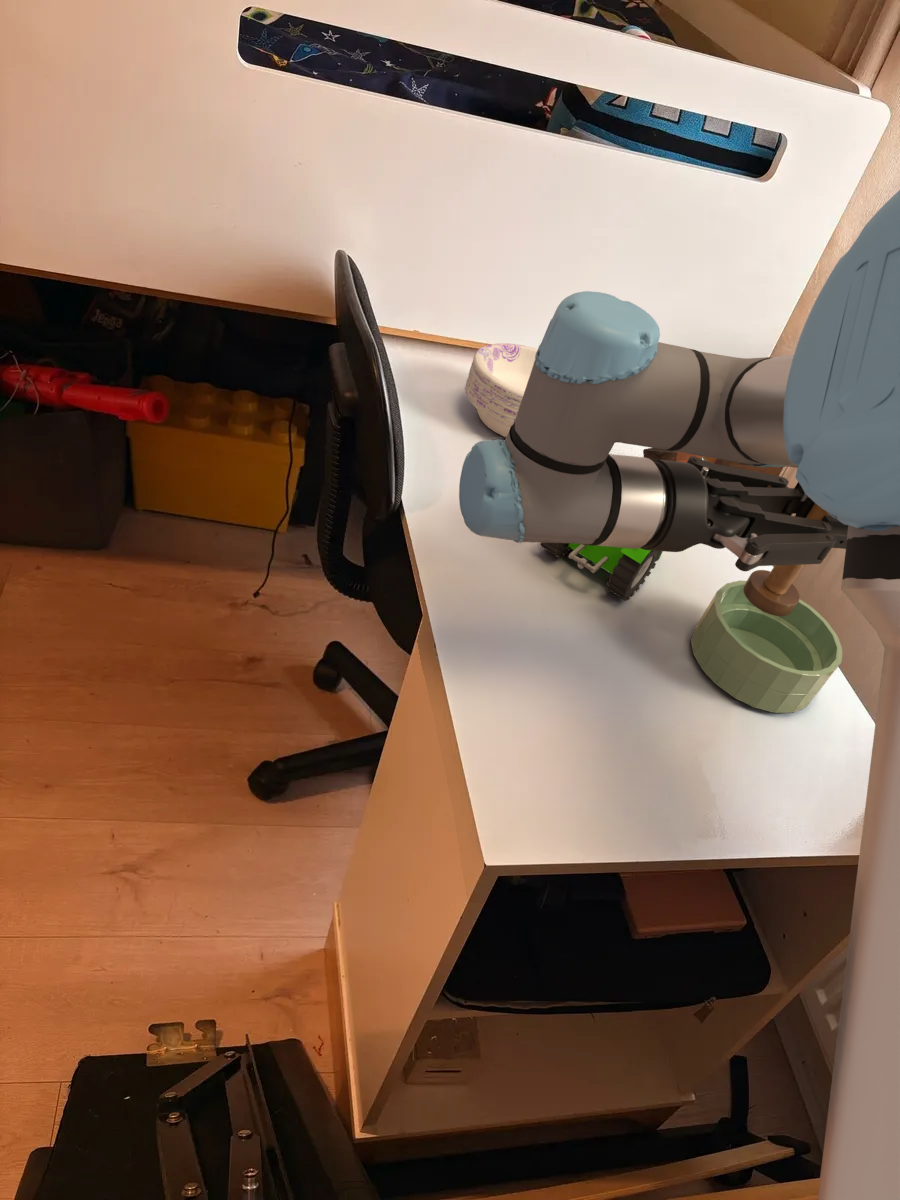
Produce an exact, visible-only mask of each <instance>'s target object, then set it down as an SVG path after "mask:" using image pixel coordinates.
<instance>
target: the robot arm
mask: <svg viewBox="0 0 900 1200" xmlns="http://www.w3.org/2000/svg"><path fill="white" fill-rule="evenodd" d="M810 309H811V310H810V312H809V314H808V316H807V318H806V321H805V322H804V325H803V328H802V330H801V333H800V335H799V337H798V341H797V344H796V347H795V350H794V354H788V355H786V354H785V355H775V356H765V357H751V358H749V357H748V358H744V357H735V356H729V355H723V354H716V353H711V352H706V351H699V350H697V349H693V348H688V347H686V346H685V347H684V346H679V345H676V344H670V343H666V342H660V336H661V331H660V327H659V325H658V322H657V321H656V319H655V318H654V317H653V316H652V315H651V314H650V313H648V312H647V311H646V310H645V309H643V308H642V307H640V306H638V305H637V304H635V303H633V302H631V301H628V300H622V299H620V298H619V297H617V296H616V295H612V294H609V293H605V292H600V291H589V290H588V291H587V290H585V291H579V292H574V293H572V294H570V295H567V296H566V297H565V298H564V299H562V300H561V301H560V303H559V304H558V305H557V307H556V309H555V310H554V313H553V316H552V317H551V319H550V321H549V323H548V326H547V328H546V330H545V333H544V335H543V337H542V340H541V342H540V344H539V345H538V347H537V349H538V350H537V352H536V355H535V361H534V364H533V368H532V371H531V374H530V377H529V380H528V383H527V386H526V389H525V392H524V395H523V398H522V401H521V404H520V407H519V410H518V413H517V416H516V419H515V421H514V424H513V425H512V426H511V427H510V430H509V432H508V435H507V437H505V439H498V438H495V439H491V440H489V439H484V440H479V441H478V442H476V443H474V445H473V446H472V447H471V450H470V451H468V453H467V454H466V455H465V458H464V461H463V464H462V468H461V472H460V478H459V485H458V486H459V487H458V488H459V489H458V500H459V501H458V502H459V507H460V513H461V515H462V518H463V521H464V524H465V526H466V527H467V528H468V529H469V530H470V532H471V533H473V534H475V535H477V536H480V537H486V538H492V539H500V540H507V541H513V542H515V543H518V544H522V543H541V542H543V543H576V544H583V545H591V546H596V545H597V546H609V547H620V548H632V549H633V548H641V549H643V550H652V551H663V552H667V553H681V552H684V551H686V550H688V549H690V548H692V547H695V546H696V545H697V546H698V545H705V546H708V547H710V548H713V549H717V550H723V549H725V548H726V549H727V550H728V551H729V552H731V553H732V554H734V555H735V556H736V557H737V560H736V561H735V563H734V566H735V567H736V568H737V570H739V571H742V572H750V571H751V570H754V569H755V568H758V567H774V566H776V565H804V564H805V565H821V564H822V563H823V561H824V560H825V559H826V557H827V556H828V554H829V553H830V552H831V550H832V549H843V550H845V551H844V552H845V553H844V561H843V570H842V577H841V578H842V579H841V587H840V589H841V592H843V594H844V595H845V596H846V597H847V598H848V599H849V600H850V602H851V603H852V604H853V605H854V607H855V608H856V609H857V611H859V613H861V615H862V616H863V617H864V619H865V620H866V621H867V622H868V623H869V624H870V625H871V627H872V628H873V629H874V630H875V631H876V633H877V636H878V637H879V640H880V641H881V644H882V646H883V648H884V650H883V658H882V665H881V666H882V667H881V675H880V676H881V677H880V683H879V691H878V700H877V707H876V716H875V723H874V732H873V741H872V748H871V755H870V756H871V757H870V765H869V771H868V772H869V773H868V782H867V790H866V797H865V798H866V799H865V805H864V814H863V822H862V831H861V839H860V848H859V856H858V864H857V871H856V880H855V888H854V896H853V905H852V913H851V922H850V930H849V936H848V938H849V939H848V945H847V954H846V962H845V970H844V977H843V980H844V981H843V988H842V996H841V1004H840V1010H839V1021H838V1027H837V1037H836V1043H835V1044H836V1045H835V1052H834V1060H833V1068H832V1069H833V1070H832V1078H831V1085H830V1094H829V1100H828V1110H827V1118H826V1126H825V1135H824V1142H823V1151H822V1158H821V1159H822V1160H821V1166H820V1176H819V1184H818V1191H817V1200H900V189H898V190H897V192H895V193H894V194H893V195H892V196H891V197H890V199H888V200H887V202H885V203H884V204H883V205H882V206H881V207H880V208H879V209H878V210H877V211H876V213H875V214H874V215H872V217H871V218H870V219H869V220H868V222H866V224H865V225H864V227H863V228H862V230H861V231H860V233H859V234H858V236H857V238H856V239H855V241H854V242H853V244H852V245H851V246H850V248H849V249H848V251H846V252H845V254H844V255H843V256H841V257H840V258H839V260H837V263H836V264H835V266H834V267H833V269H832V270H831V273H830V274H829V275H828V277H827V278H826V281H825V283H824V284H823V286H822V288H821V290H820V291H819V293H818V295H817V297H816V299H815V301H814V303H813V305H812V307H811V308H810ZM615 443H617V444H618V443H621V444H627V445H631V446H639V447H645V448H657V449H662V450H668V451H677V452H683V453H688V454H694V455H699V456H702V457H705V458H711V459H716V460H723V461H728V462H733V463H738V464H740V465H746V466H751V467H757V468H766V467H770V468H771V467H772V468H786V467H787V468H795V469H796V472H795V479H796V480H797V483H796V485H795V486H794V487H788V485H789V480H788V479H787V478H786V477H784V476H780V475H775V474H770V473H765V472H759V471H754V470H750V469H749V470H748V469H744V468H739V467H738V468H737V467H733V466H727V465H723V464H717V463H713V462H710V461H708V460H705V459H703V458H702V459H699V458H697V457H693V456H691V457H689V459H688V461H687V463H685V462H676V461H667V460H658V459H653V460H650V459H649V458H644V456H636V455H635V456H634V455H623V454H614V453H613V454H612V453H610V452H611V451H612V449H613V447H614V445H615ZM815 503H816V504H817V505H818V506H820V507H821V508H822V509H823V510H825V511H827V512H828V513H829V514H830V515H831V516H828V515H824V517H823V518H822V520H821V521H819V520H813V519H807V518H806V516H807V515H808V513H809V512H810V510H811V508H812V507H813V505H814V504H815ZM805 565H804V566H805Z"/></svg>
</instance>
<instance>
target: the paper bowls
mask: <svg viewBox="0 0 900 1200" xmlns="http://www.w3.org/2000/svg"><path fill="white" fill-rule="evenodd" d="M537 350H538V348H535V347H531V346H527V345H523V344H517V343H505V342H499V343H491V344H487V345H484V346H482V347H479V349H477V350H476V352H475V353H474V355H473V358H472V362H471V365H470V368H469V372H468V374H467V379H466V381H465V382H466V383H465V387H464V393H465V396H466V397H467V399H468V400H469V402H470V403H471V404H472V405H473V407H475V409H476V411H477V415H478V417H479V419H480V420H481V421H482V423H483V424H484V425H485V426H486V427H487V428H488V429H490V430H491V431H493V432H494V433H496V434H497V435H500V436H501V437H504V438H506V437H507V435H508V432H509V430H510V427H511V426H512V425H513V424H514V421H515V419H516V416H517V413H518V410H519V407H520V404H521V401H522V398H523V395H524V392H525V389H526V386H527V383H528V380H529V377H530V374H531V371H532V368H533V364H534V361H535V355H536V352H537Z"/></svg>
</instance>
